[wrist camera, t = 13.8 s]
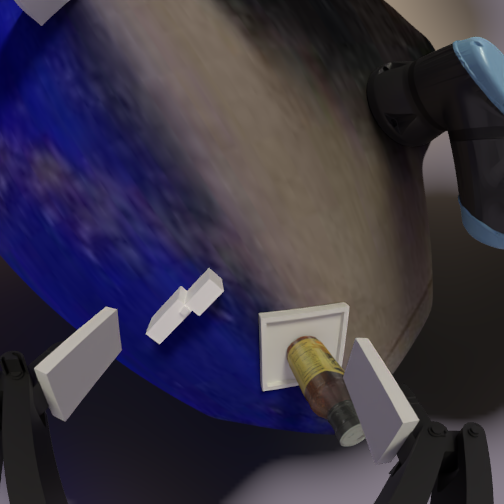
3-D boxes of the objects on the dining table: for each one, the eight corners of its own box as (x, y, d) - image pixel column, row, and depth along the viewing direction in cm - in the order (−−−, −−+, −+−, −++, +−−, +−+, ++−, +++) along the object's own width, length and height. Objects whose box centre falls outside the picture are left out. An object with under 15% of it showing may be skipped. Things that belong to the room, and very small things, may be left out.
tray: (344, 302, 42) (349, 306, 41) (336, 370, 45) (339, 376, 44) (258, 313, 40) (261, 318, 38) (260, 384, 43) (262, 391, 42)
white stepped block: (150, 338, 39) (144, 359, 33) (131, 268, 36) (120, 281, 31) (246, 325, 41) (252, 344, 35) (236, 252, 38) (241, 262, 33)
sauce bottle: (323, 356, 43) (381, 438, 24) (289, 370, 43) (333, 461, 24) (317, 325, 41) (383, 408, 22) (279, 340, 41) (328, 435, 22)
